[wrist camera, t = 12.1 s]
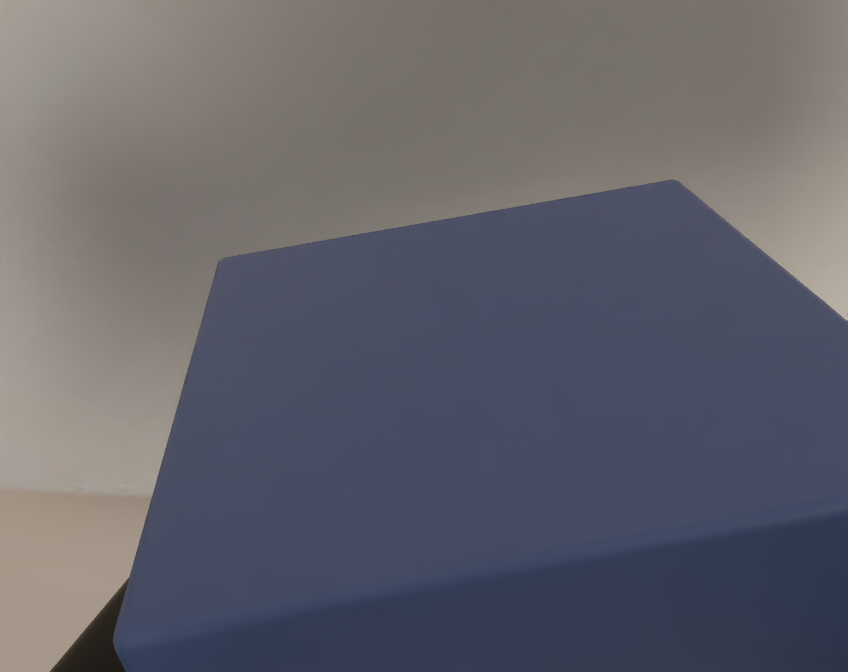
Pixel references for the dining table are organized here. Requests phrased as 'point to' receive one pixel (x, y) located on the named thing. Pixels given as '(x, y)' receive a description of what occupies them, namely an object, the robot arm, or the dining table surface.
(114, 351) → the dining table surface
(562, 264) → the blue block
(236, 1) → the dining table surface
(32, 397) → the dining table surface
